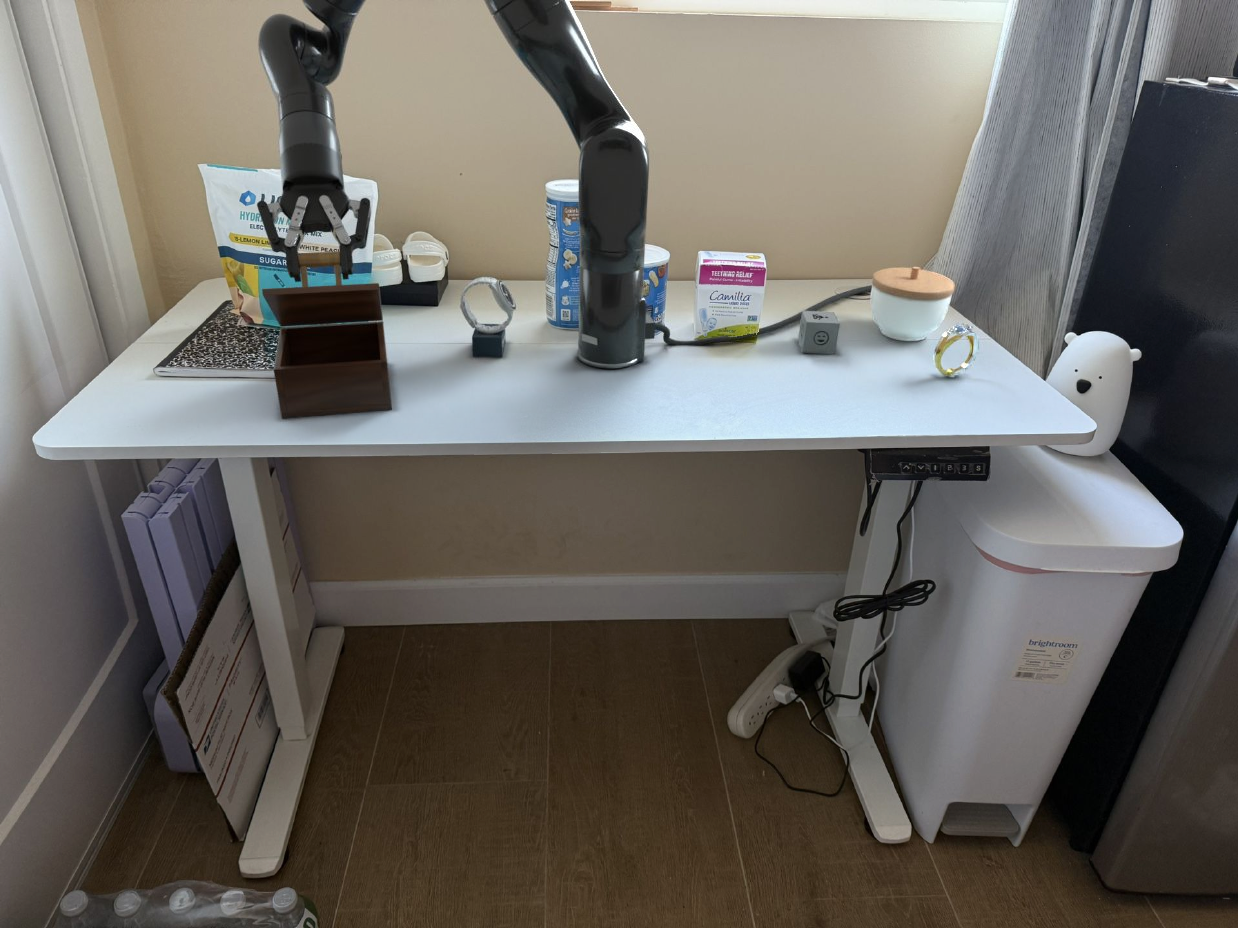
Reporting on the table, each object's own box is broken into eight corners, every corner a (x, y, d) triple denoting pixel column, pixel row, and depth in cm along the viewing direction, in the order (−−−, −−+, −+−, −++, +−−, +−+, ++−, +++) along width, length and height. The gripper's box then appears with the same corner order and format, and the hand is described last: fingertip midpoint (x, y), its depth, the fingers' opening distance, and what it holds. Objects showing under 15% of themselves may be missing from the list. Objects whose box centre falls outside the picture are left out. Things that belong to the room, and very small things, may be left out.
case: (392, 409, 117) (386, 361, 113) (281, 418, 113) (273, 369, 110) (387, 365, 129) (383, 320, 126) (288, 372, 126) (280, 327, 122)
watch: (515, 357, 133) (513, 286, 127) (461, 356, 133) (456, 284, 127) (518, 343, 138) (516, 273, 132) (466, 342, 137) (462, 272, 132)
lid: (379, 289, 110) (374, 245, 111) (262, 295, 107) (258, 250, 108) (383, 320, 125) (379, 281, 126) (280, 326, 122) (276, 286, 122)
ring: (965, 370, 134) (977, 319, 130) (977, 379, 132) (990, 327, 128) (923, 373, 133) (935, 322, 129) (935, 382, 130) (947, 330, 126)
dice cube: (797, 340, 142) (802, 310, 140) (829, 342, 142) (834, 312, 140) (802, 352, 138) (806, 322, 136) (834, 354, 138) (839, 323, 136)
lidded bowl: (863, 342, 143) (875, 275, 137) (863, 316, 153) (874, 252, 148) (945, 352, 140) (961, 284, 135) (940, 324, 151) (954, 260, 146)
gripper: (245, 141, 110) (254, 266, 105) (366, 139, 113) (380, 260, 109) (256, 177, 117) (265, 295, 112) (370, 174, 120) (382, 288, 116)
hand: (321, 277), depth 111 cm, fingers closed on lid, 5 cm apart
